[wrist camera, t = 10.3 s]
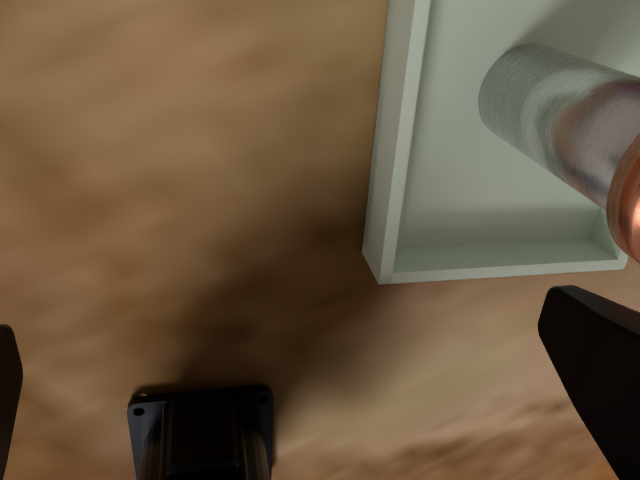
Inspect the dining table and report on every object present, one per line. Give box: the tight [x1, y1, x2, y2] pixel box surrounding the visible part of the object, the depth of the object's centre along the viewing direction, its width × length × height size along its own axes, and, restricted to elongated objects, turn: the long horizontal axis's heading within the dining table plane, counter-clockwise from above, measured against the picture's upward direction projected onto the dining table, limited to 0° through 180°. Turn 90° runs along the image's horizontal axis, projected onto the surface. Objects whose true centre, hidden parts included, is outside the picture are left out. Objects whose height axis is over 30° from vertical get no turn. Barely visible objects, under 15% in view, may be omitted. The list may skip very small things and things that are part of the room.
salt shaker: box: [478, 44, 640, 264], centre depth 17 cm, size 5×5×10 cm
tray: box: [362, 0, 640, 285], centre depth 21 cm, size 14×11×2 cm
